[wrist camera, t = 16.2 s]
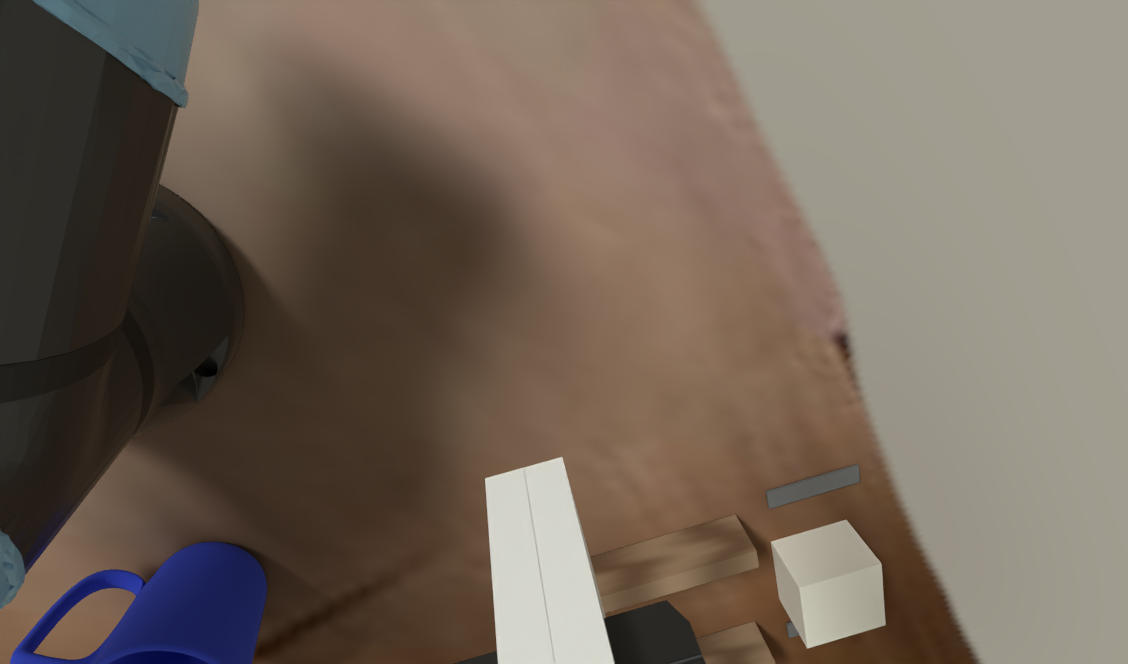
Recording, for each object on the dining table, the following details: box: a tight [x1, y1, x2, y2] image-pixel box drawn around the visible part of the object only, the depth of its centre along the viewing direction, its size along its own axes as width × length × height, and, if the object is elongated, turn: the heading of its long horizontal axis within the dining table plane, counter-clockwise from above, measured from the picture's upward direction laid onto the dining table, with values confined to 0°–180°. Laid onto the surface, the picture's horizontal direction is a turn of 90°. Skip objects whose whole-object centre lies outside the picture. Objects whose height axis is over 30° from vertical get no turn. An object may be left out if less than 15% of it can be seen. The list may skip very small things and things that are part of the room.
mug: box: [10, 542, 267, 664], centre depth 43 cm, size 8×12×10 cm
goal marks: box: [766, 464, 860, 638], centre depth 55 cm, size 7×15×1 cm, turn 14°
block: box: [771, 520, 886, 648], centre depth 53 cm, size 6×6×5 cm
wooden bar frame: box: [590, 514, 775, 664], centre depth 54 cm, size 18×18×4 cm
